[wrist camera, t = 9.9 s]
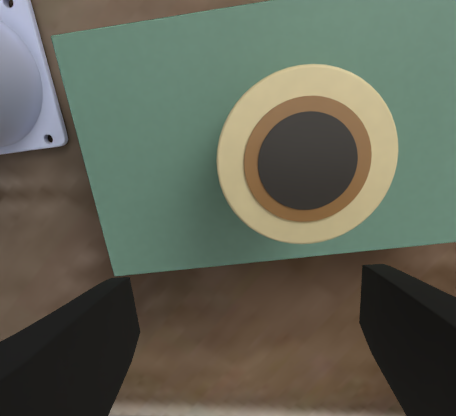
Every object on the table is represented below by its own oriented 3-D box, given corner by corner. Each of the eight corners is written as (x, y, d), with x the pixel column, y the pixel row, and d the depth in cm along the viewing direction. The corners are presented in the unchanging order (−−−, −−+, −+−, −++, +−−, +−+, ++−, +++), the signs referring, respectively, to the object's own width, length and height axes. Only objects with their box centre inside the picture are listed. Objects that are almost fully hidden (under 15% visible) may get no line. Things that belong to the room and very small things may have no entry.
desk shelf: (143, 238, 21) (114, 276, 16) (101, 55, 17) (49, 35, 13) (427, 207, 19) (489, 239, 15) (439, 3, 16) (523, -41, 11)
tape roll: (232, 208, 15) (228, 255, 10) (216, 89, 13) (203, 78, 8) (346, 195, 14) (399, 237, 9) (343, 71, 13) (405, 48, 8)
